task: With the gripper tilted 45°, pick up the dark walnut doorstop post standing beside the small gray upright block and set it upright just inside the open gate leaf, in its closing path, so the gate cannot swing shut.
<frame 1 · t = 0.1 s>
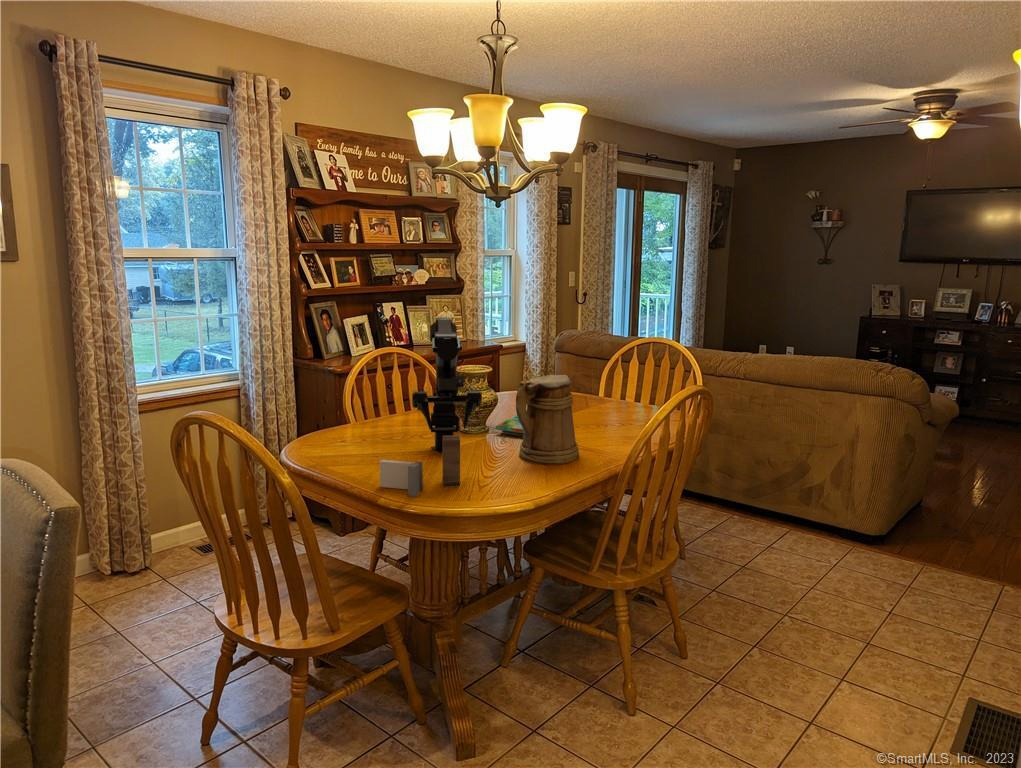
hand: (447, 429, 190), 15 cm above the table, tool tilted 35°, fingers open, 9 cm apart
gray upright block: (418, 490, 186), on the table
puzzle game: (523, 432, 247), on the table
tankard: (543, 458, 216), on the table
doorstop post: (451, 484, 191), on the table
gate leaf: (401, 474, 186), point 4 cm above the table, hinge at 90.0°
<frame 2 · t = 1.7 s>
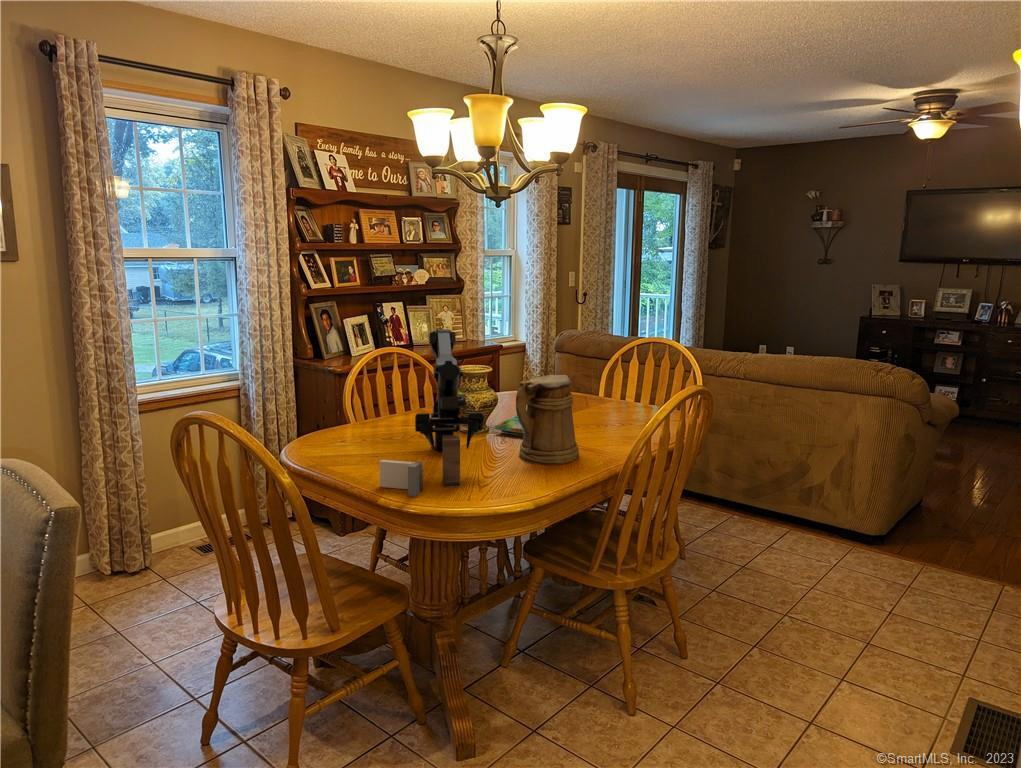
hand: (450, 448, 191), 9 cm above the table, tool tilted 45°, fingers open, 9 cm apart
nothing on the table moved.
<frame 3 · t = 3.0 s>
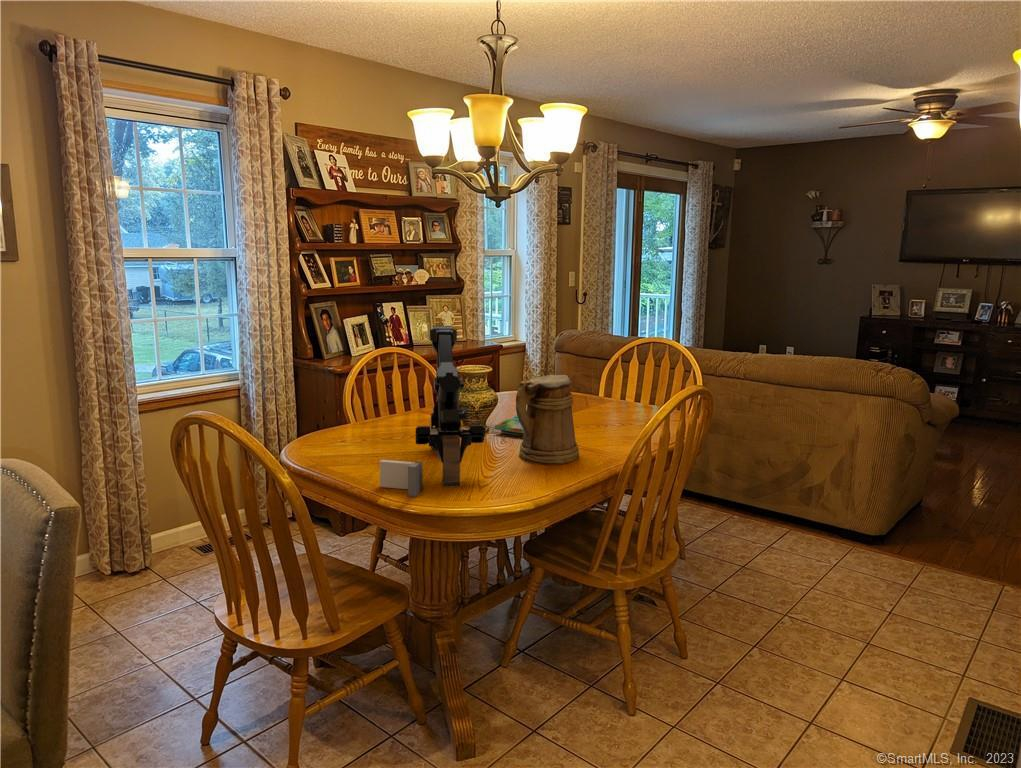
hand: (451, 462, 188), 7 cm above the table, tool tilted 45°, fingers closed on doorstop post, 4 cm apart
doorstop post: (451, 484, 191), on the table, touching gripper
everything else where it was.
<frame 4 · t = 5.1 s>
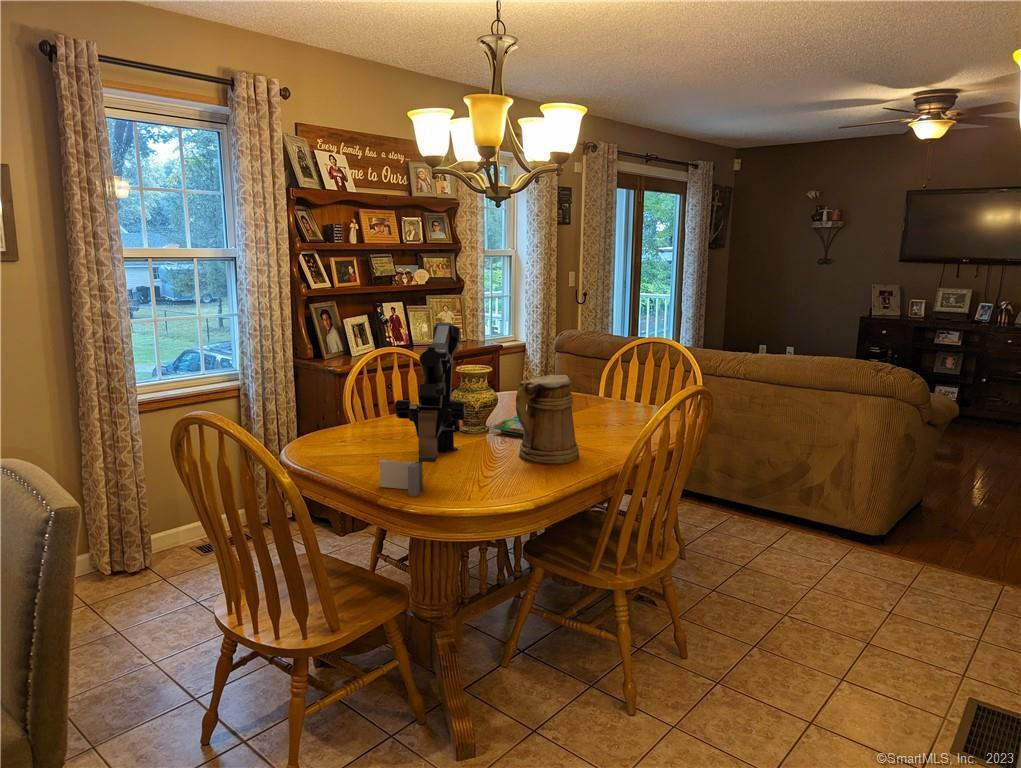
hand: (427, 437, 186), 13 cm above the table, tool tilted 45°, fingers closed on doorstop post, 4 cm apart
doorstop post: (428, 459, 189), point 7 cm above the table, touching gripper
everything else where it was.
when the fingers open (8 cm above the table, at t = 7.3 s): doorstop post drops 1 cm, on the table.
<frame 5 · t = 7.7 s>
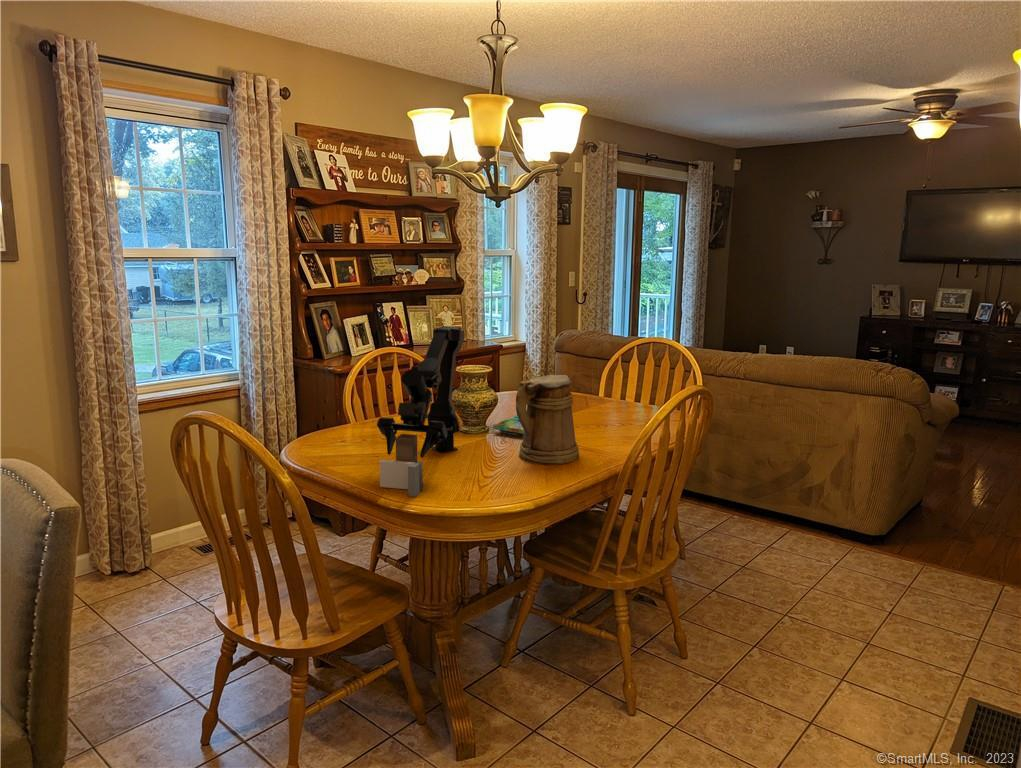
hand: (404, 455, 188), 8 cm above the table, tool tilted 45°, fingers open, 9 cm apart
doorstop post: (407, 482, 191), on the table
everything else where it was.
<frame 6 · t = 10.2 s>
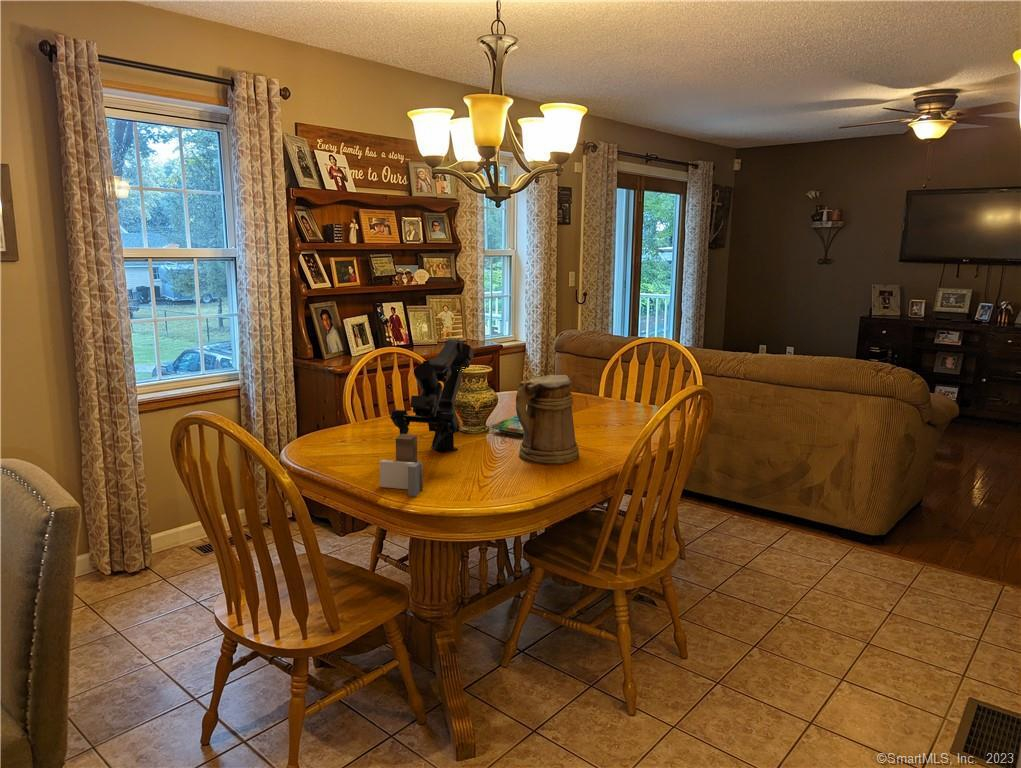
hand: (417, 445, 197), 8 cm above the table, tool tilted 45°, fingers open, 9 cm apart
nothing on the table moved.
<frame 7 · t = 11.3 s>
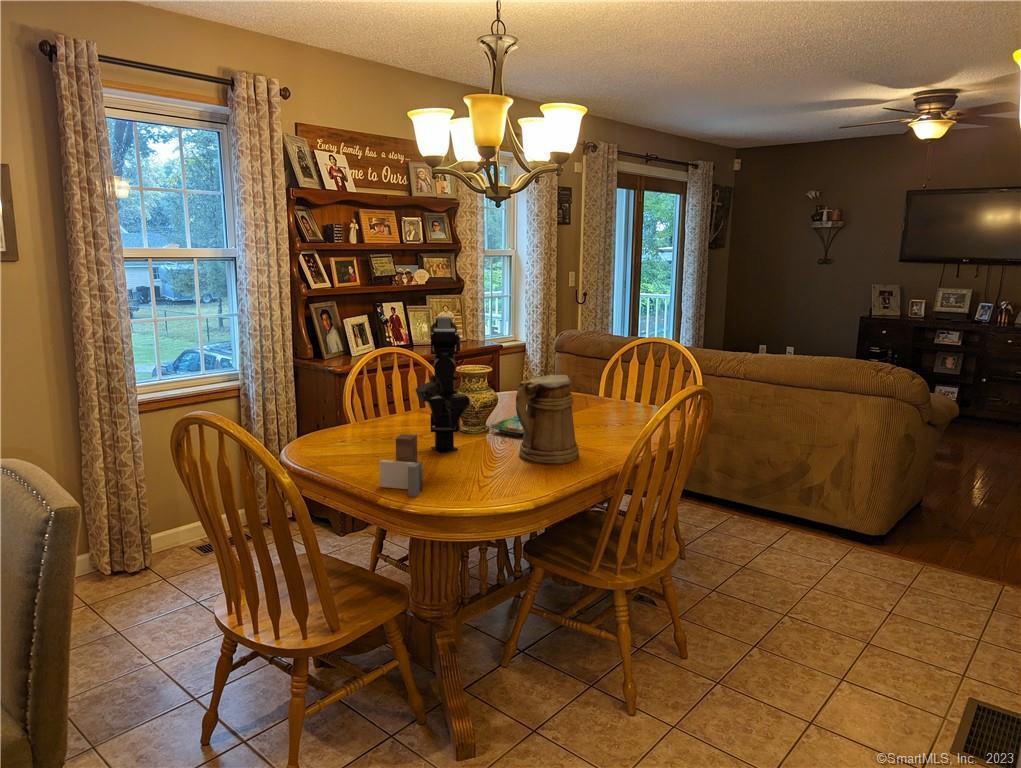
hand: (444, 425, 205), 12 cm above the table, tool pointing down, fingers open, 9 cm apart
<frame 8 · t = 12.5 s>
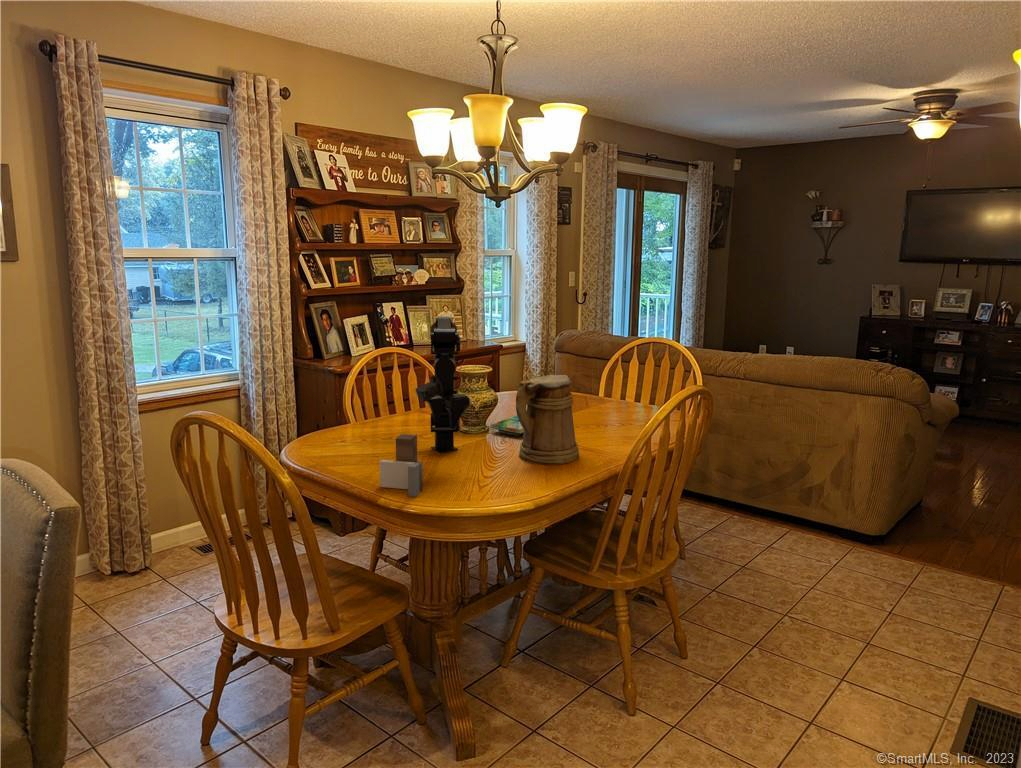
hand: (444, 425, 205), 12 cm above the table, tool pointing down, fingers open, 9 cm apart
nothing on the table moved.
at the end: doorstop post 0.0 cm from the target spot, on the table; doorstop post tilted 0°; gate leaf at +90° (first picture: +90°) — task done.
